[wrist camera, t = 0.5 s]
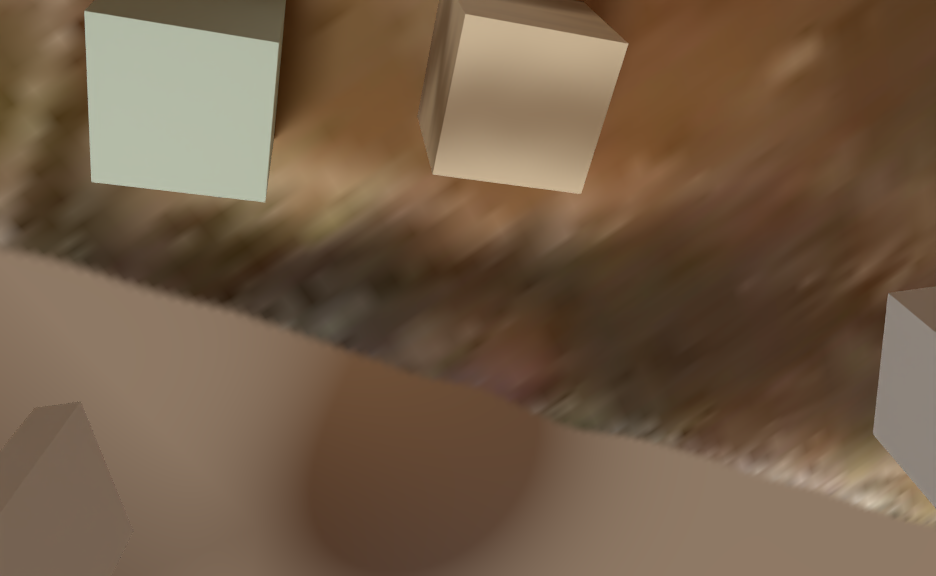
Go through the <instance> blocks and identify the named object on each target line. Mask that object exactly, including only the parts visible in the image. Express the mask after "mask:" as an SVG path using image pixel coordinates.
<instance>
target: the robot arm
mask: <svg viewBox="0 0 936 576" xmlns="http://www.w3.org/2000/svg"><path fill="white" fill-rule="evenodd" d="M873 435H874V436H875V437H876V438H877V439H878V441H879V442H880V443H881V444H882V445H883V446H884V448H885V449H886V450H887V451H888V452H889V454H890V455H891V456H892V457H893V458H894V459H895V461H896V462H897V463H898V464H899V465H900V467H901V468H902V469H903V470H904V471H905V472H906V474H907V475H908V476H909V477H910V478H911V480H912V481H913V482H914V483H915V484H916V485H917V487H918V488H919V489H920V490H921V491H922V493H923V494H924V495H925V496H926V497H927V498H928V500H929V501H930V502H931V503H932V504H933V506H934V507H935V508H936V287H930V288H922V289H915V290H907V291H900V292H892V293H888V300H887V309H886V319H885V328H884V337H883V346H882V356H881V365H880V374H879V383H878V393H877V402H876V411H875V420H874V430H873ZM132 533H133V529H132V526H131V524H130V521H129V519H128V516H127V514H126V512H125V509H124V507H123V504H122V502H121V499H120V497H119V494H118V492H117V489H116V487H115V484H114V482H113V480H112V477H111V475H110V472H109V470H108V467H107V465H106V462H105V460H104V457H103V455H102V452H101V450H100V447H99V445H98V443H97V440H96V438H95V435H94V433H93V430H92V428H91V425H90V423H89V421H88V418H87V416H86V413H85V411H84V408H83V406H82V403H81V402H75V403H67V404H60V405H52V406H45V407H37V408H34V409H33V411H32V412H31V413H30V414H29V416H28V417H27V418H26V419H25V420H24V422H23V423H22V424H21V425H20V427H19V428H18V429H17V430H16V432H15V433H14V434H13V435H12V437H11V438H10V439H9V440H8V442H7V443H6V444H5V445H4V447H3V448H2V449H1V450H0V576H112V574H113V572H114V570H115V568H116V566H117V564H118V562H119V560H120V558H121V555H122V553H123V551H124V549H125V547H126V545H127V543H128V541H129V539H130V537H131V535H132Z"/></svg>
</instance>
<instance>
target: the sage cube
mask: <svg viewBox="0 0 936 576" xmlns="http://www.w3.org/2000/svg"><path fill="white" fill-rule="evenodd" d="M285 6H286V0H94V1H93V2H92V3H91V5H90V6H89V7H88V8H87V9H86V10H85V11H84V13H85V37H86V61H87V86H88V110H89V134H90V159H91V182H97V183H105V184H114V185H122V186H131V187H139V188H148V189H156V190H165V191H173V192H182V193H190V194H199V195H207V196H216V197H224V198H233V199H242V200H250V201H259V202H265V200H266V193H267V186H268V178H269V171H270V164H271V156H272V149H273V141H274V131H275V120H276V108H277V97H278V86H279V74H280V63H281V52H282V40H283V29H284V18H285Z"/></svg>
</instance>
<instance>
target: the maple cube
mask: <svg viewBox="0 0 936 576" xmlns="http://www.w3.org/2000/svg"><path fill="white" fill-rule="evenodd" d="M627 46H628V43H627V42H626V41H625V40H624V39H623V38H622V37H621V36H620V35H618V34H617V33H616V32H615V31H614V30H613V29H612V28H611V27H610V26H609V25H608V24H607V23H606V22H605V21H603V20H602V19H601V18H600V17H599V16H598V15H597V14H596V13H595V12H594V11H593V10H592V9H591V8H590V7H588V6H587V5H586V4H585V3H584V2H581V1H576V0H439V4H438V9H437V15H436V20H435V25H434V31H433V36H432V41H431V47H430V52H429V58H428V63H427V68H426V74H425V79H424V84H423V90H422V95H421V100H420V106H419V111H418V120H419V124H420V128H421V132H422V135H423V139H424V143H425V147H426V151H427V155H428V158H429V162H430V166H431V170H432V174H434V175H441V176H449V177H456V178H464V179H472V180H479V181H487V182H494V183H502V184H510V185H517V186H525V187H532V188H540V189H547V190H555V191H563V192H570V193H578V194H581V192H582V189H583V186H584V183H585V179H586V176H587V173H588V170H589V167H590V164H591V160H592V157H593V154H594V151H595V148H596V145H597V141H598V138H599V135H600V132H601V129H602V126H603V122H604V119H605V116H606V113H607V110H608V107H609V103H610V100H611V97H612V94H613V91H614V88H615V84H616V81H617V78H618V75H619V72H620V69H621V65H622V62H623V59H624V56H625V53H626V50H627Z"/></svg>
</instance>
